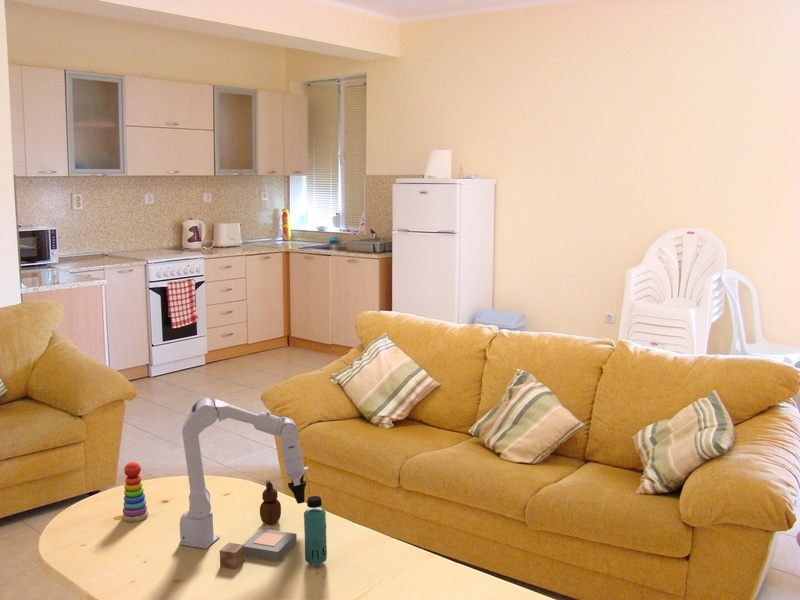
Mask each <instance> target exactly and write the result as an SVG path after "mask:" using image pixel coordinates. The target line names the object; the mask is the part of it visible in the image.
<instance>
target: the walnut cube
mask: <svg viewBox="0 0 800 600" xmlns="http://www.w3.org/2000/svg"><path fill="white" fill-rule="evenodd" d="M245 557H246V556H244V545H243V544H240V543H233V542H227V543H226V544H225V545H224V546H223V547H222V548H221V549H219V565H220V568H227V569H233V570H237V569H238V568H239V567H240V566H241V565H242V564H243V563H244V562H245V560H246V559H245Z"/></svg>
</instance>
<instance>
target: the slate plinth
mask: <svg viewBox="0 0 800 600" xmlns="http://www.w3.org/2000/svg"><path fill="white" fill-rule="evenodd" d="M297 538H298V537H297V533H293V532H289V531H281V530H274V529H270V528H268V529H267V528H260V529H258V530H257V531H256V532H255V533H254V534H252V536H250V537H249V538H248V539H247V540H246V541H245V542H244V543H242V545H244V557H247V558H255V559H258V560H259V559H260V560H267V561H272V562H278V563H279V562H280V560H281V559H283V557H284V556H286V554H287V553H288V552H289V551H290V550H291V549H293V547H294V546H295V545H297Z"/></svg>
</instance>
